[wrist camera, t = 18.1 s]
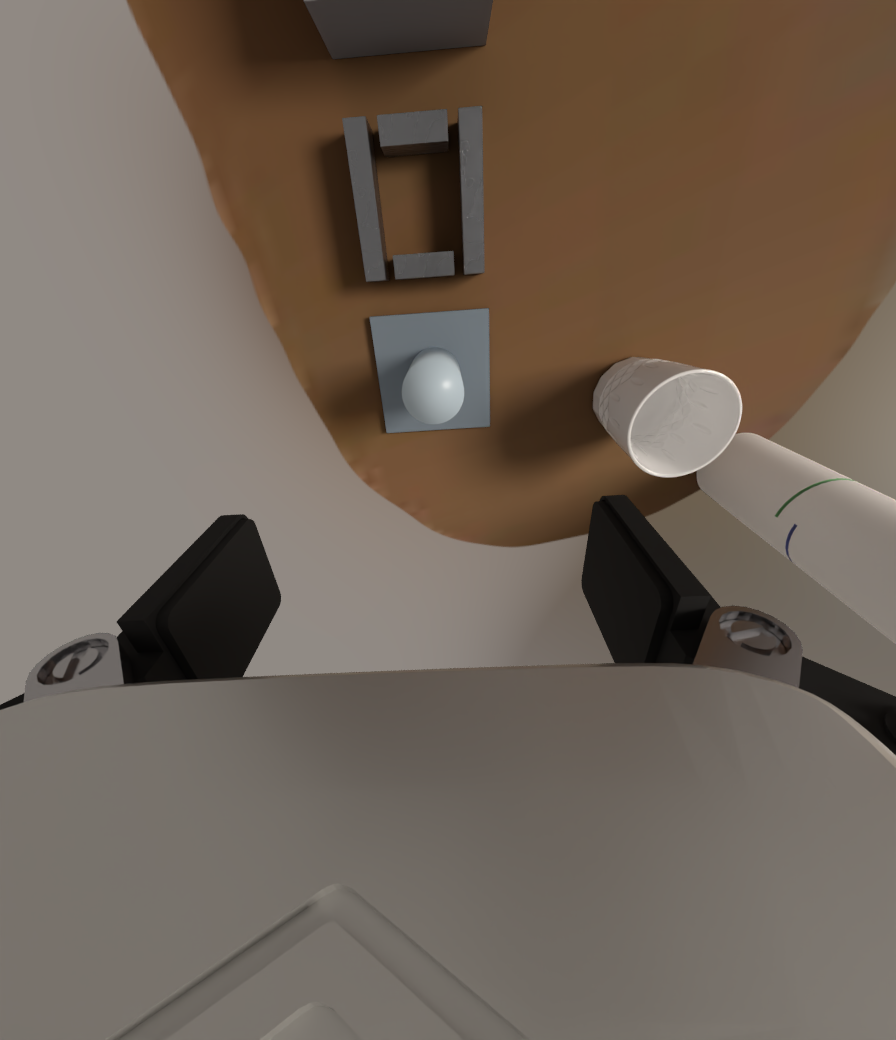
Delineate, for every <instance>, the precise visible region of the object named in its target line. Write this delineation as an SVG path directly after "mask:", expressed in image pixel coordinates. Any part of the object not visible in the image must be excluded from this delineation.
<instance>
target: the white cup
mask: <svg viewBox="0 0 896 1040" xmlns="http://www.w3.org/2000/svg"><path fill="white" fill-rule="evenodd" d="M593 410H594V412H595V414H596V416H597V418H598V420H599V422H600V423H601V424H602V425H603V426H604V428H605V430H606V431H607V432H608V434H609V435H610V436H611V437H612V438H613V440H614V441H615V442H616V443H617V444H618V445H619V446H620V448H621V449H622V450H623V451H624V452H625V453H626V454H627V455H628V456H629V457H630V458H631V460H632V461H633V462H634V463H635V464H636V465H637V466H638V467H639V468H640V469H641V470H643V471H644V472H646V473H648V474H651V475H653V476H657V477H666V478H669V477H679V476H683V475H687V474H690V473H692V472H695V471H697V470H699V469H701V468H703V467H704V466H706V465H707V464H709V463H710V462H712V461H713V460H714V459H715V458H717V457H718V456H719V455H720V454H721V453H722V452H723V451H724V450H725V448H726V447H727V446H728V445H729V443H730V442H731V440H732V439H733V437H734V435H735V433H736V431H737V429H738V426H739V423H740V420H741V415H742V401H741V396H740V393H739V391H738V389H737V387H736V385H735V384H734V383H733V382H732V381H731V380H730V379H729V378H728V377H727V376H725V375H723V374H721V373H719V372H716V371H713V370H708V369H703V368H699V367H694V366H690V365H686V364H682V363H677V362H671V361H666V360H660V359H650V358H641V357H631V358H628V359H625V360H623V361H620V362H618V363H615V364H614V365H613V366H612V367H611V368H610V369H609V370H608V371H606V372H605V373H604V374H603V375H602V376H601V378H600V380H599V382H598V384H597V386H596V388H595V390H594V392H593Z"/></svg>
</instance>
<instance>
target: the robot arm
mask: <svg viewBox="0 0 896 1040" xmlns="http://www.w3.org/2000/svg"><path fill="white" fill-rule="evenodd" d="M582 589H583V592H584V595H585V597H586V599H587V601H588V604H589V606H590V608H591V610H592V613H593V615H594V617H595V620H596V622H597V624H598V626H599V628H600V630H601V633H602V635H603V638H604V640H605V642H606V644H607V646H608V649H609V651H610V653H611V655H612V658H613V660H614V662H615V663H606V664H605V663H604V664H568V665H537V666H511V667H510V666H508V667H479V668H453V669H452V668H450V669H426V670H425V669H424V670H401V671H400V670H399V671H374V672H349V673H325V674H304V675H280V676H261V677H243V675H244V673H245V671H246V669H247V667H248V665H249V663H250V661H251V659H252V657H253V655H254V654H255V652H256V650H257V648H258V646H259V644H260V642H261V640H262V638H263V636H264V634H265V633H266V631H267V629H268V627H269V625H270V623H271V621H272V619H273V617H274V615H275V613H276V611H277V609H278V608H279V605H280V602H281V594H280V591H279V588H278V585H277V582H276V580H275V578H274V574H273V572H272V569H271V566H270V563H269V561H268V558H267V555H266V552H265V550H264V547H263V544H262V541H261V539H260V536H259V533H258V530H257V527H256V525H255V523H254V521H253V520H251V519H248V518H247V517H246V516H245V515H224V516H220V517H219V518H218V519H217V520H216V521H215V522H214V523H213V524H212V525H211V526H210V527H209V528H208V529H207V530H206V531H205V532H204V533H203V534H202V535H201V536H200V537H199V538H198V539H197V540H196V541H195V542H194V543H193V544H192V545H191V546H190V547H189V548H188V549H187V550H186V551H185V552H184V553H183V554H182V556H180V557H179V558H178V560H177V561H176V562H175V563H174V564H173V565H172V566H171V567H170V568H169V569H168V570H167V571H166V572H165V573H164V574H163V575H162V576H161V577H160V578H159V579H158V580H157V581H156V582H155V583H154V584H153V585H152V586H151V587H150V588H149V589H148V590H147V591H146V592H145V593H144V594H143V595H142V596H141V597H140V598H139V599H138V600H137V601H136V602H135V603H134V604H133V605H132V606H131V607H130V608H129V610H127V612H126V613H125V614H124V615H123V616H122V617H121V618H120V619H119V620H118V621H117V623H118V625H119V626H120V628H121V629H122V632H121V633H120V634H119V636H118V637H117V638H116V636H114V635H111V634H109V633H96V634H91V635H87V636H84V637H81V638H78V639H75V640H73V641H71V642H69V643H67V644H64V645H62V646H61V647H59V648H57V649H56V650H54V651H53V652H51V653H50V654H48V655H47V656H46V657H44V658H43V659H42V660H41V661H40V662H39V663H38V664H36V666H35V667H34V668H33V669H32V671H31V672H30V673H29V676H28V678H27V680H26V686H25V693H24V694H22V695H20V696H18V697H16V698H13V699H12V700H10V701H7V702H5V703H3V704H1V705H0V1040H896V697H895V696H893V695H890V694H888V693H886V692H883V691H881V690H878V689H876V688H874V687H872V686H870V685H867V684H865V683H862V682H860V681H858V680H855V679H853V678H851V677H848V676H846V675H844V674H842V673H839V672H837V671H835V670H832V669H830V668H828V667H825V666H823V665H821V664H818V663H816V662H814V661H811V660H809V659H806V658H804V657H802V653H803V649H802V644H801V641H800V640H799V638H798V637H797V635H796V634H795V632H793V631H792V630H791V629H790V628H789V627H788V626H787V625H786V624H784V623H783V622H781V621H780V620H778V619H776V618H775V617H773V616H771V615H769V614H766V613H764V612H761V611H759V610H755V609H752V608H748V607H742V606H724V607H720V606H719V605H718V604H717V602H716V601H715V600H714V599H713V598H712V596H711V595H710V594H709V592H708V591H707V590H706V589H705V588H704V587H703V585H702V584H701V583H700V582H699V581H698V580H697V579H696V577H695V576H694V575H693V574H692V573H691V571H690V570H689V569H688V568H687V567H686V565H685V564H684V563H683V562H682V561H681V560H680V558H678V556H677V555H676V554H675V553H674V551H673V550H672V549H671V548H670V547H669V545H668V544H667V543H666V542H665V541H664V540H663V538H662V537H661V536H660V535H659V534H658V533H657V531H656V530H655V529H654V528H653V527H652V526H651V524H650V523H649V522H648V521H647V520H646V518H645V517H644V516H643V515H642V514H641V513H640V511H639V510H638V509H637V508H636V507H635V506H634V504H633V503H632V502H631V501H630V500H629V498H628V497H627V496H625V495H614V496H602V497H601V499H600V501H599V502H595V503H594V504H593V509H592V515H591V522H590V528H589V535H588V541H587V549H586V555H585V561H584V567H583V574H582Z"/></svg>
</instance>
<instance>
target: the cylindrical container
mask: <svg viewBox="0 0 896 1040" xmlns="http://www.w3.org/2000/svg"><path fill="white" fill-rule="evenodd" d="M697 483H698V486H699V487H700V489H701V490H702V491H703V492H705V493H706V494H707V495H708V496H709V497H711V498H712V499H713V500H715V501H716V502H717V503H718V504H720V505H721V506H722V507H723V508H725V509H726V510H727V511H728V512H730V513H731V514H732V515H733V516H735V517H736V518H737V519H738V520H740V521H741V522H742V523H744V524H745V525H746V526H747V527H749V528H750V529H751V530H752V531H754V532H755V533H756V534H757V535H759V536H760V537H761V538H763V539H764V540H765V541H766V542H767V543H769V544H770V545H771V546H773V547H774V548H775V549H776V550H778V551H779V552H780V553H781V554H783V555H784V556H785V557H786V558H788V559H789V560H790V561H791V562H793V563H794V564H795V565H797V566H798V567H799V568H800V569H802V570H803V571H804V572H805V573H807V574H808V575H809V576H811V577H812V578H813V579H814V580H815V581H817V582H818V583H819V584H820V585H822V586H823V587H824V588H825V589H827V590H828V591H829V592H831V593H832V594H833V595H834V596H836V597H837V598H838V599H839V600H841V601H842V602H843V603H844V604H846V605H847V606H848V607H849V608H851V609H852V610H853V611H855V612H856V613H857V614H858V615H859V616H861V617H862V618H863V619H865V620H866V621H867V622H868V623H870V624H871V625H872V626H874V627H875V628H876V629H877V630H878V631H880V632H881V633H882V634H883V635H885V636H886V637H887V638H888V639H890V640H891V641H892V642H894V643H895V644H896V500H895V499H892V498H890V497H888V496H886V495H884V494H882V493H880V492H878V491H875V490H873V489H871V488H869V487H867V486H865V485H863V484H861V483H859V482H856V481H854V480H852V479H850V478H848V477H846V476H844V475H842V474H839V473H837V472H835V471H833V470H831V469H829V468H827V467H825V466H823V465H820V464H818V463H816V462H814V461H812V460H810V459H808V458H805V457H803V456H801V455H799V454H797V453H795V452H793V451H791V450H789V449H787V448H784V447H782V446H780V445H778V444H776V443H774V442H772V441H770V440H767V439H765V438H763V437H761V436H759V435H757V434H753V433H739V434H735V435H734V437H733V439H732V440H731V442H730V443H729V445H728V446H727V447H726V448H725V450H724V451H723V452H722V453H721V454H720V455H719V456H718V457H717V458H715V459H714V460H713V461H712V462H710V463H709V464H707V465H706V466H704V467H703V468H701V469H699V470H697Z"/></svg>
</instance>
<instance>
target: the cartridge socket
mask: <svg viewBox="0 0 896 1040" xmlns="http://www.w3.org/2000/svg"><path fill="white" fill-rule="evenodd" d="M342 120H343V127H344V134H345V140H346V147H347V154H348V161H349V168H350V175H351V181H352V188H353V195H354V202H355V209H356V216H357V223H358V229H359V236H360V243H361V250H362V257H363V264H364V271H365V277H366V282H378V281H390V278H389V270H388V262H387V253H386V245H385V237H384V228H383V220H382V211H381V203H380V195H379V186H378V178H377V170H376V161H375V153H374V144H373V136H372V129H371V127H370V125H369V123H368V121H367V119H366V117H365V116H363V117H351V118H342ZM377 120H378V129H379V138H380V147H381V149H382V151H383V153H384V155H385V157H397V156H408V155H420V154H432V153H444V152H448V124H447V109H442V110H431V111H419V112H408V113H397V114H385V115H377ZM458 147H459V174H460V201H461V227H462V254H463V275H470V274H482V273H484V211H483V141H482V106H476V107H465V108H458ZM393 262H394V271H395V279H397V280H404V279H417V278H431V277H444V276H454V275H455V273H454V251H445V252H432V253H419V254H407V255H394V256H393Z"/></svg>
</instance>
